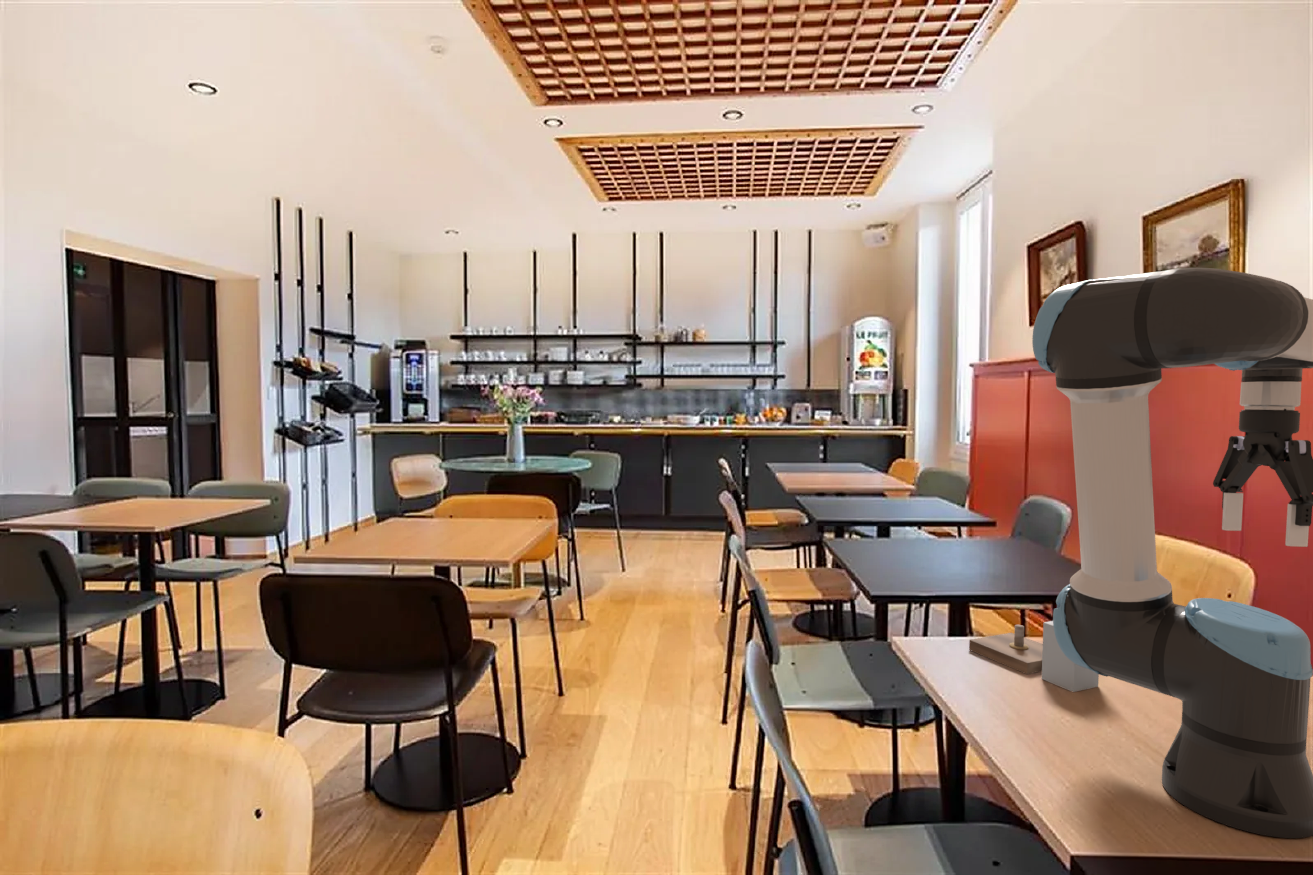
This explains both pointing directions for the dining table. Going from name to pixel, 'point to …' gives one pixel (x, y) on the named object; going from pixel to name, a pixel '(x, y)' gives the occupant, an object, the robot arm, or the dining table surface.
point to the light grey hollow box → (1063, 665)
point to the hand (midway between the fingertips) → (1262, 538)
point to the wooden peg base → (1011, 650)
